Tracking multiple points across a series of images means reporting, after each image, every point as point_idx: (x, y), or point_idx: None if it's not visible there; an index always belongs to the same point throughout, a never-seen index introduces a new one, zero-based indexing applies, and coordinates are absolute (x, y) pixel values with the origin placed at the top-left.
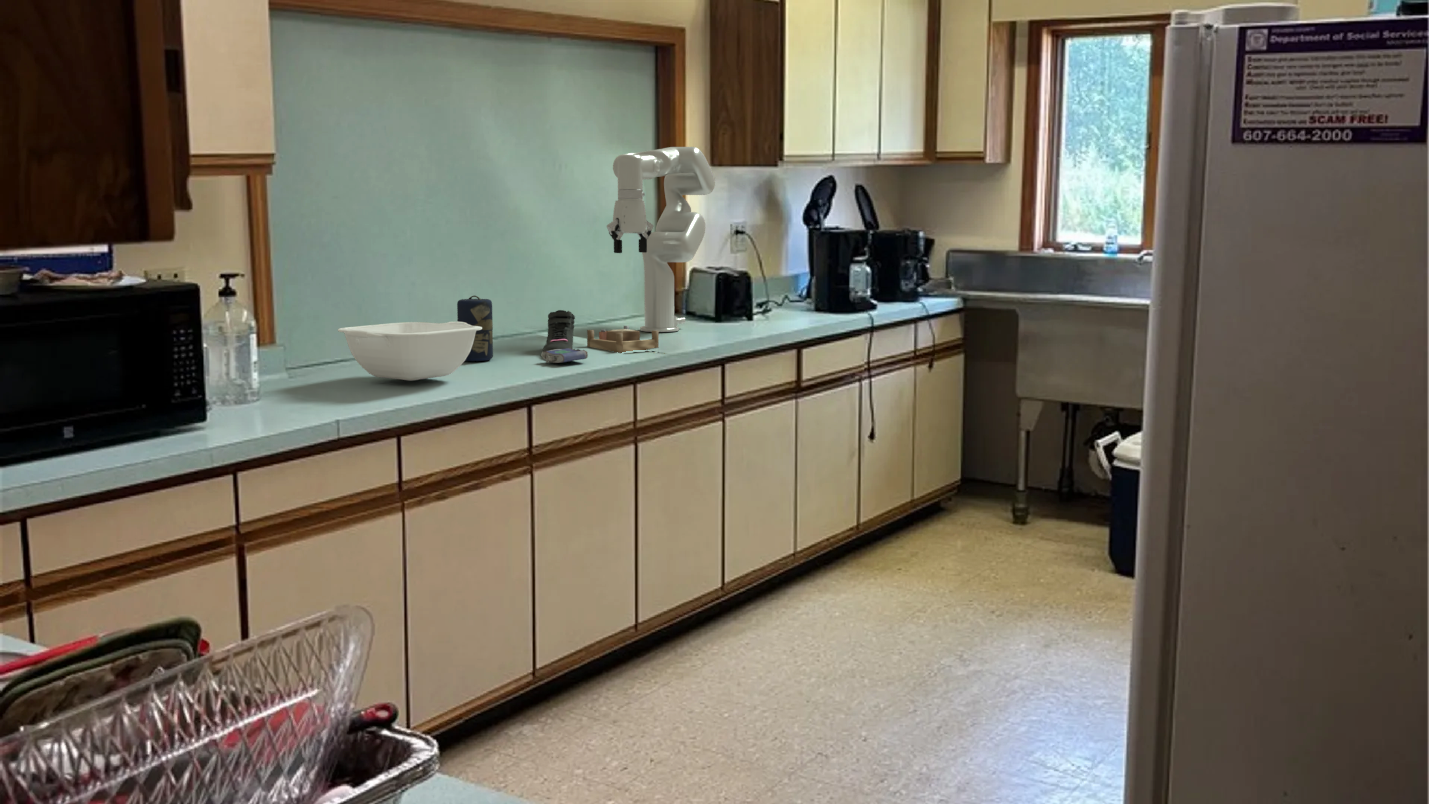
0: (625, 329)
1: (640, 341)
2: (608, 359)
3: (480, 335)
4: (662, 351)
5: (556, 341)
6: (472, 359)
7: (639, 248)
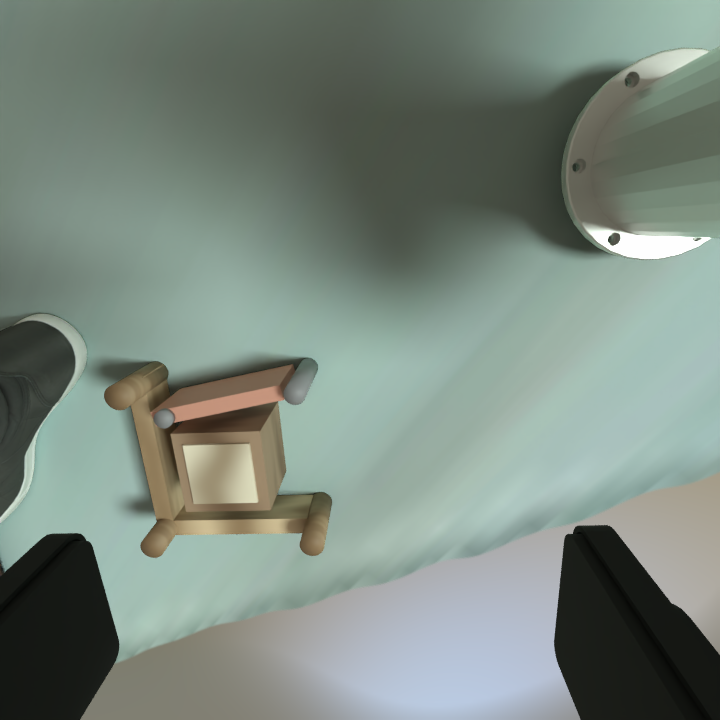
0: (242, 459)
1: (248, 532)
2: None
3: None
4: (334, 518)
5: None
6: None
7: (589, 593)
